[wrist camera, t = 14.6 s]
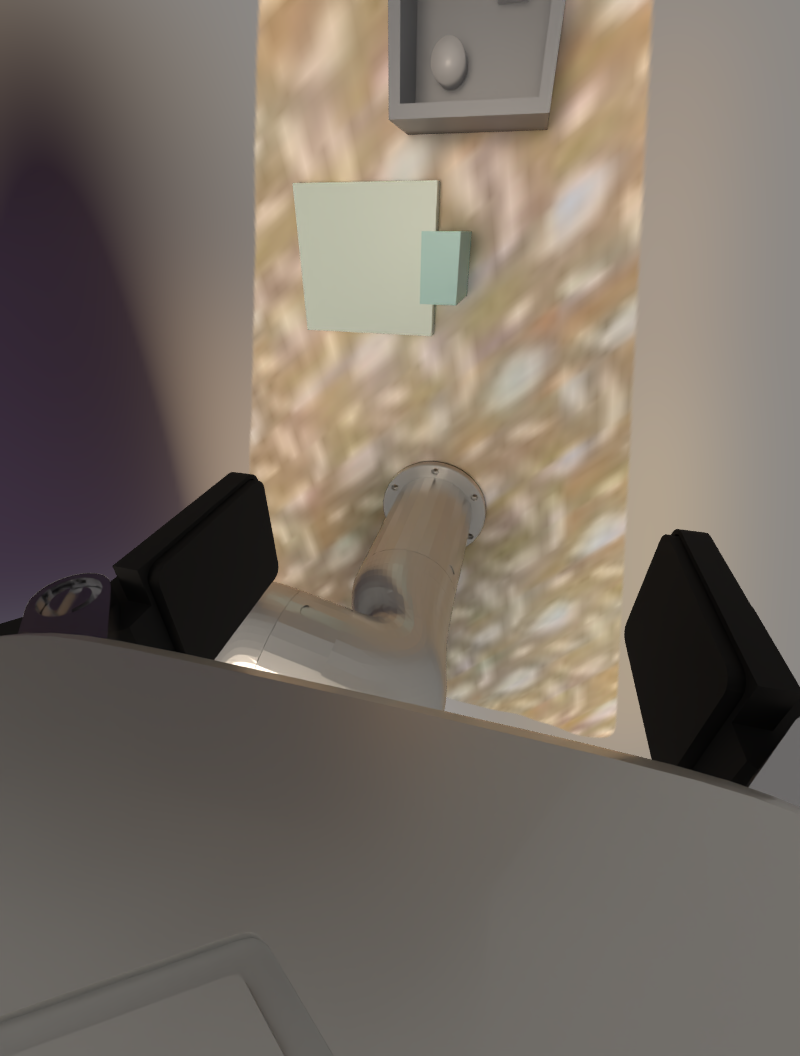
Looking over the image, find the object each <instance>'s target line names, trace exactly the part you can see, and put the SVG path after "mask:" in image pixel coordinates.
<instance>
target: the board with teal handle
mask: <svg viewBox="0 0 800 1056" xmlns="http://www.w3.org/2000/svg"><path fill="white" fill-rule="evenodd" d="M293 192H294V202H295V212H296V221H297V231H298V241H299V250H300V260H301V270H302V279H303V289H304V299H305V308H306V318H307V328H308V330H324V331H343V332H361V333H380V334H399V335H418V336H432V335H433V334H434V312H435V305H457V304H458V303H459V302H460V301H461V300H462V299H463V298H465V297H466V296H467V286H468V273H469V260H470V247H471V235H472V231H438V218H439V194H440V181H438V180H426V181H375V182H325V183H293Z"/></svg>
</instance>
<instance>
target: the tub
mask: <svg viewBox="0 0 800 1056" xmlns="http://www.w3.org/2000/svg"><path fill="white" fill-rule="evenodd" d="M565 1H566V0H388V56H389V120H390V121H391V122H392V123H394V124H395V125H396V126H397V127H399V128H400V129H401V130H403V131H404V132H405V133H406V134H408V135H415V134H443V133H471V132H499V131H528V130H547V126H548V119H549V112H550V105H551V98H552V91H553V84H554V78H555V71H556V64H557V57H558V50H559V43H560V36H561V29H562V22H563V15H564V8H565Z"/></svg>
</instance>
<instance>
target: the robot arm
mask: <svg viewBox="0 0 800 1056" xmlns="http://www.w3.org/2000/svg"><path fill="white" fill-rule="evenodd" d="M435 468H437V469H438V470H435ZM396 485H397V486H396ZM473 494H475V495H476V496H475V495H473ZM383 510H384V514H385V518H386V519H385V521H384V523H383V525H382V527H381V529H380V531H379V533H378V534H377V536H376V538H375V540H374V542H373V544H372V546H371V548H370V550H369V552H368V554H367V556H366V558H365V560H364V562H363V564H362V566H361V568H360V570H359V572H358V574H357V576H356V578H355V581H354V585H353V590H352V608H353V610H351V609H348V608H346V607H343V606H340V605H338V604H335V603H333V602H330V601H328V600H325V599H322V598H320V597H317V596H315V595H312V594H310V593H307V592H304V591H301V590H298V589H296V588H293V587H290V586H287V585H284V584H281V583H276V582H273V581H274V579H275V578H276V576H277V573H278V560H277V555H276V549H275V544H274V538H273V533H272V528H271V522H270V517H269V511H268V506H267V500H266V495H265V489H264V485H263V483H262V482H260V481H258V479H257V477H256V476H255V475H252V474H243V473H236V472H231V473H229V474H228V475H227V476H225V477H224V478H223V479H221V480H220V481H219V482H218V483H216V484H215V485H214V486H213V487H211V488H210V489H209V490H208V491H206V492H205V493H204V494H203V495H201V496H200V497H199V498H198V499H197V500H195V501H194V502H192V503H191V504H190V505H189V506H187V507H186V508H185V509H184V510H182V511H181V512H180V513H179V514H177V515H176V516H175V517H174V518H172V519H171V520H170V521H168V522H167V523H166V524H165V525H163V526H162V527H161V528H160V529H159V530H157V531H156V532H155V533H154V534H152V535H151V536H150V537H148V538H147V539H146V540H145V541H143V542H142V543H141V544H140V545H138V546H137V547H136V548H134V549H133V550H132V551H131V552H129V553H128V554H127V555H126V556H124V557H123V558H122V559H121V560H119V561H118V562H117V563H116V564H114V565H113V568H114V570H115V573H116V575H117V577H116V578H115V579H113V580H112V581H111V582H110V580H109V579H108V578H107V577H106V576H104V575H101V574H97V573H83V574H77V575H72V576H69V577H66V578H62V579H60V580H57V581H55V582H53V583H51V584H49V585H47V586H46V587H44V588H43V589H41V590H40V591H38V592H37V593H36V594H35V595H34V596H33V597H32V598H31V599H30V600H29V602H28V604H27V606H26V608H25V611H24V615H23V617H21V618H18V619H15V620H11V621H8V622H5V623H2V624H0V1056H800V687H799V685H798V683H797V681H796V680H795V678H794V676H793V675H792V673H791V671H790V670H789V668H788V666H787V664H786V663H785V661H784V659H783V658H782V656H781V654H780V652H779V651H778V649H777V647H776V646H775V644H774V643H773V641H772V639H771V637H770V636H769V634H768V632H767V630H766V629H765V627H764V625H763V624H762V622H761V620H760V619H759V617H758V615H757V613H756V612H755V610H754V609H753V607H752V606H751V605H750V603H749V602H748V600H747V598H746V596H745V594H744V593H743V591H742V589H741V588H740V586H739V584H738V582H737V581H736V579H735V577H734V576H733V574H732V572H731V571H730V569H729V567H728V565H727V564H726V562H725V561H724V559H723V557H722V555H721V554H720V552H719V550H718V548H717V547H716V545H715V543H714V542H713V540H712V538H711V537H710V535H709V534H708V533H704V532H696V531H688V530H679V529H676V530H674V531H673V533H672V534H671V535H666V534H665V535H664V536H662V538H661V540H660V542H659V544H658V547H657V549H656V552H655V554H654V557H653V559H652V561H651V564H650V567H649V569H648V571H647V574H646V576H645V579H644V581H643V584H642V586H641V589H640V591H639V593H638V596H637V598H636V601H635V603H634V606H633V608H632V611H631V613H630V616H629V618H628V620H627V623H626V626H625V634H624V635H625V643H626V647H627V652H628V657H629V661H630V665H631V670H632V674H633V679H634V683H635V688H636V692H637V696H638V701H639V705H640V710H641V714H642V718H643V723H644V727H645V732H646V736H647V741H648V745H649V749H650V754H651V758H652V760H651V759H647V758H643V757H639V756H634V755H630V754H626V753H622V752H618V751H614V750H610V749H606V748H601V747H597V746H594V745H589V744H585V743H581V742H577V741H573V740H568V739H564V738H559V737H555V736H551V735H547V734H542V733H538V732H534V731H529V730H525V729H520V728H516V727H512V726H507V725H503V724H498V723H494V722H489V721H485V720H481V719H476V718H472V717H468V716H464V715H459V714H455V713H450V712H446V711H444V709H445V703H446V689H447V673H446V651H447V638H448V631H449V625H450V619H451V614H452V609H453V605H454V599H455V595H456V590H457V585H458V581H459V576H460V571H461V566H462V562H463V557H464V552H465V548H466V547H467V546H468V545H469V544H471V543H472V542H473V541H474V540H475V539H476V538H477V537H478V535H479V534H480V532H481V530H482V528H483V525H484V521H485V515H486V506H485V500H484V497H483V494H482V492H481V490H480V489H479V487H478V485H477V484H476V483H475V482H474V481H473V479H472V478H471V477H469V476H468V475H467V474H466V473H465V472H463V471H461V470H460V469H458V468H456V467H454V466H451V465H448V464H445V463H440V462H421V463H416V464H413V465H411V466H408V467H406V468H404V469H403V470H402V471H400V472H399V473H398V474H397V475H396V476H395V477H394V478H393V479H392V481H391V482H390V484H389V485H388V487H387V490H386V492H385V495H384V500H383Z"/></svg>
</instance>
